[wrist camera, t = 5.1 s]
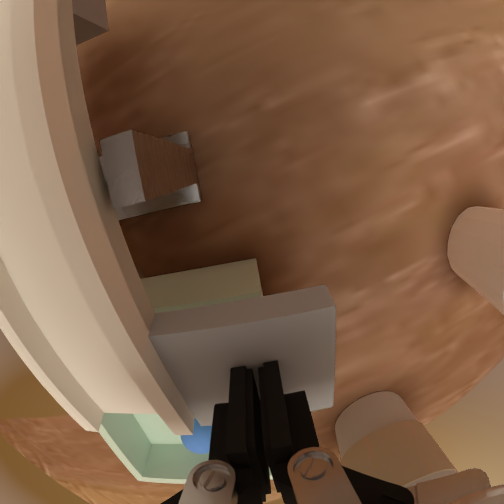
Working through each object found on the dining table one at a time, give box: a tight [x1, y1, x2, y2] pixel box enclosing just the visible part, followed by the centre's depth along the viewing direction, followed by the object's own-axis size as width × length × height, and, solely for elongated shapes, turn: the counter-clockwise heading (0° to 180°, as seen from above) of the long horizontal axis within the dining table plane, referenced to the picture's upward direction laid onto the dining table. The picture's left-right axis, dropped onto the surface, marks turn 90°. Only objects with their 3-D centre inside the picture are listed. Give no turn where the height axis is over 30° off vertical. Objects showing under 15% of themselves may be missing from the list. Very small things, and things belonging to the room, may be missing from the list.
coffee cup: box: [335, 391, 457, 488], centre depth 15 cm, size 9×9×15 cm
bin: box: [99, 258, 273, 484], centre depth 18 cm, size 16×13×5 cm
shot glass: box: [447, 206, 504, 315], centre depth 15 cm, size 7×7×7 cm
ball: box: [181, 418, 212, 454], centre depth 19 cm, size 3×3×3 cm
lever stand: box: [99, 129, 202, 220], centre depth 12 cm, size 4×8×10 cm, turn 100°
